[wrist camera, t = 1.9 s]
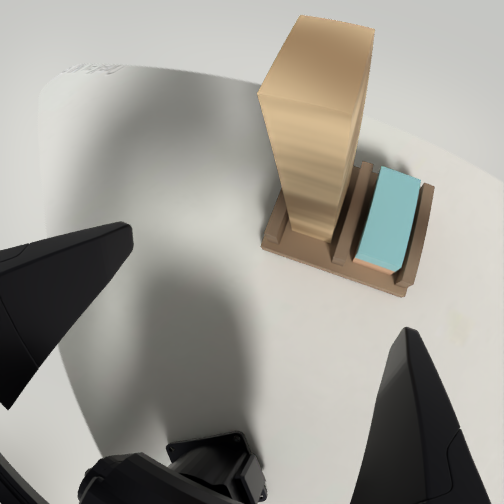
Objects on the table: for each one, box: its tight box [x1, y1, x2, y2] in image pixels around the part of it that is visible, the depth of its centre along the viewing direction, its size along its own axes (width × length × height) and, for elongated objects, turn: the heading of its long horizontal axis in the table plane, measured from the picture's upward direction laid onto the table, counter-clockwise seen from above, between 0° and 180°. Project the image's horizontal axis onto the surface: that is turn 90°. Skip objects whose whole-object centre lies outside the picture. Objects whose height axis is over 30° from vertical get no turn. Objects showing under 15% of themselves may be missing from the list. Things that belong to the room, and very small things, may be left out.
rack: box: [261, 161, 434, 297], centre depth 21 cm, size 8×11×3 cm
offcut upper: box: [355, 166, 421, 272], centre depth 18 cm, size 6×3×2 cm, turn 158°
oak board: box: [257, 15, 375, 243], centre depth 15 cm, size 4×3×14 cm, turn 158°
